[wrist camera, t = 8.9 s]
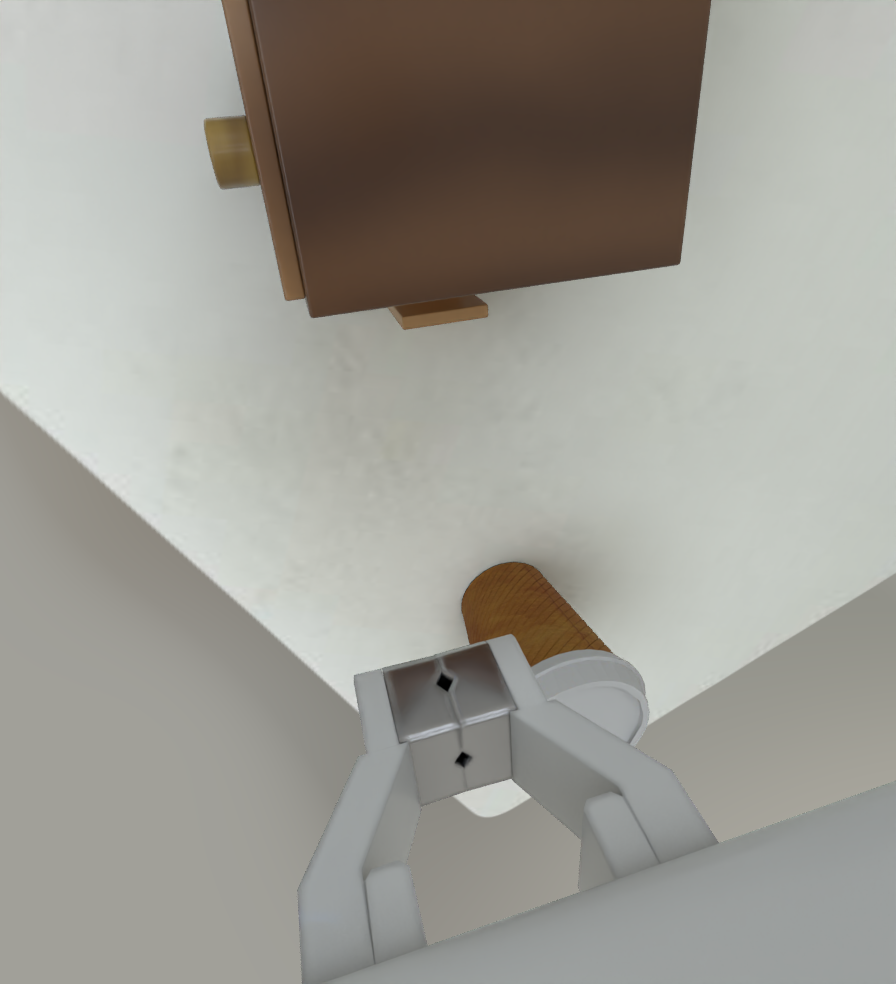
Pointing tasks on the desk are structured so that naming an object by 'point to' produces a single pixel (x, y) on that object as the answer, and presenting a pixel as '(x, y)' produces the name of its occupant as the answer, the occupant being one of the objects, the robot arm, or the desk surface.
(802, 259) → the desk surface
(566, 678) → the disposable coffee cup
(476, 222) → the drawer unit
